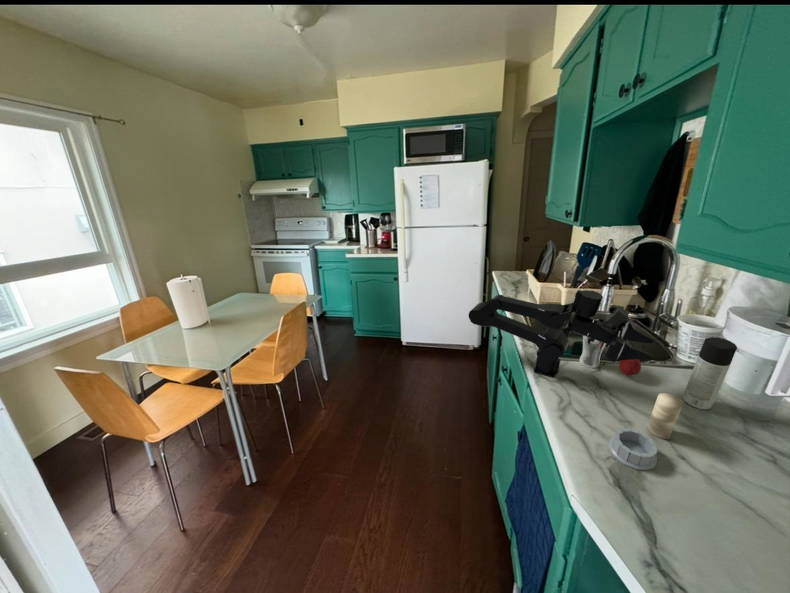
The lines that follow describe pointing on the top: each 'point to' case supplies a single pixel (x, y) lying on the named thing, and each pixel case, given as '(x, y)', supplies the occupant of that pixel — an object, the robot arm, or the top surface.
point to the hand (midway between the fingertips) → (652, 349)
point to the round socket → (633, 449)
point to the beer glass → (591, 352)
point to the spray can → (709, 372)
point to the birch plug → (664, 415)
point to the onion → (630, 367)
